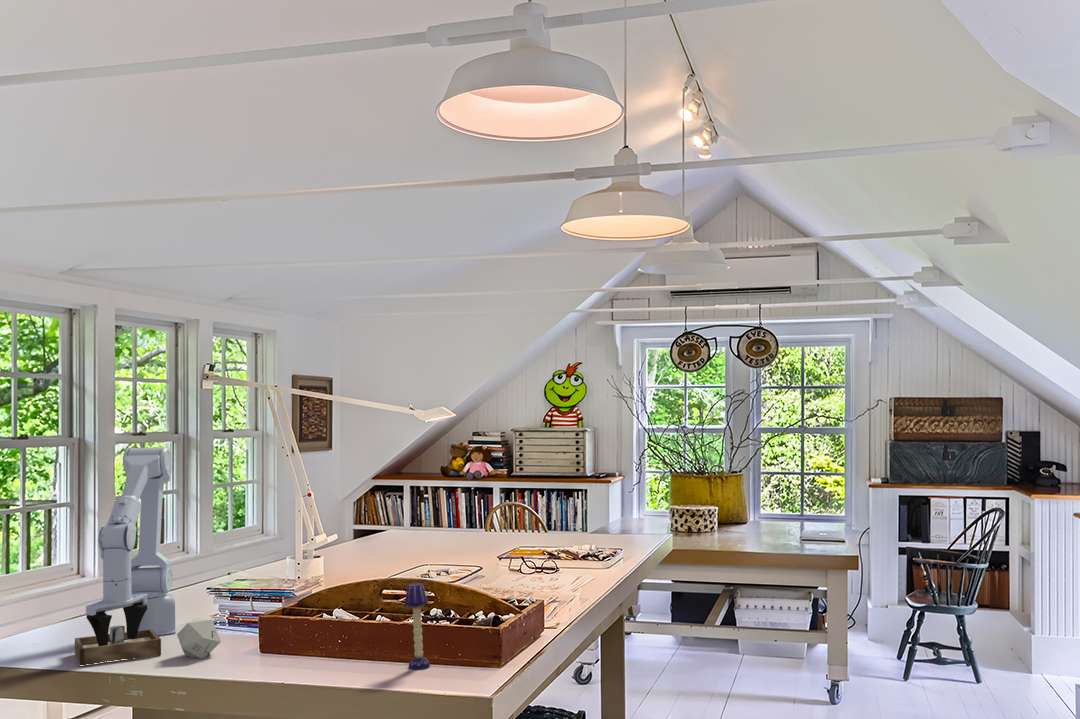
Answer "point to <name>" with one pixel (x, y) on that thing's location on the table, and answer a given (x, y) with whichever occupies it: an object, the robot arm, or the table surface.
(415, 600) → the toy lamp
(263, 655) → the table surface
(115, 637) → the peg
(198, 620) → the die
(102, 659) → the peg box
